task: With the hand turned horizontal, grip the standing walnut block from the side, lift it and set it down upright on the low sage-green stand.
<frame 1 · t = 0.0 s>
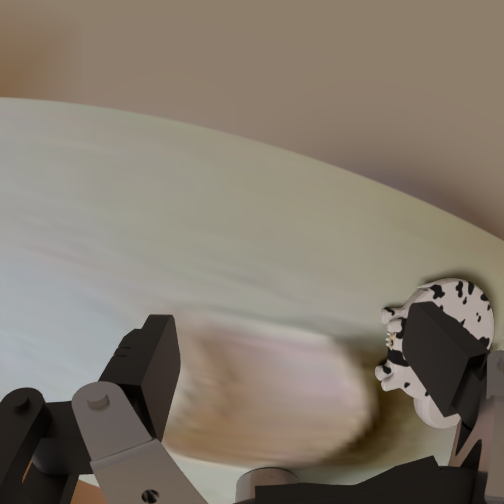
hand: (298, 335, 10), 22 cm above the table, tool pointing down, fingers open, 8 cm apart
toy: (437, 354, 35), on the table
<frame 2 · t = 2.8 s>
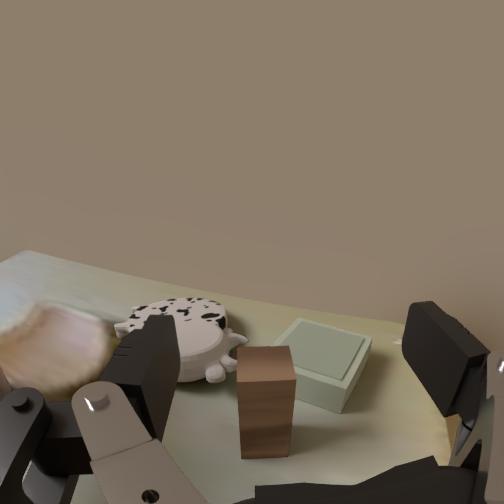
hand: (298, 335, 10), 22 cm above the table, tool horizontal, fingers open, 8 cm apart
block: (263, 441, 28), on the table
stand: (316, 372, 39), on the table
toy: (180, 347, 45), on the table
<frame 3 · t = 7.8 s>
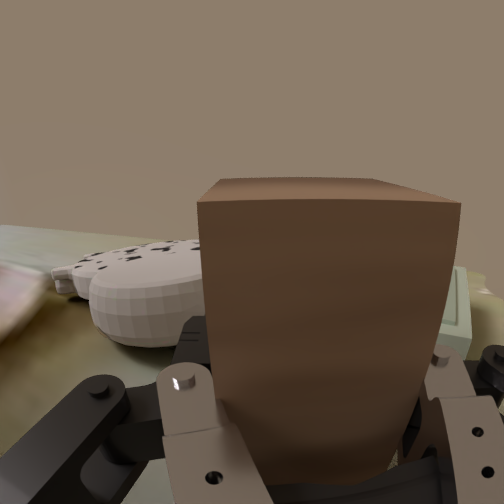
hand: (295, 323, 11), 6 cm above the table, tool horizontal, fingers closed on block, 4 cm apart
block: (294, 481, 10), on the table, touching gripper
stand: (381, 333, 20), on the table
toy: (158, 304, 27), on the table
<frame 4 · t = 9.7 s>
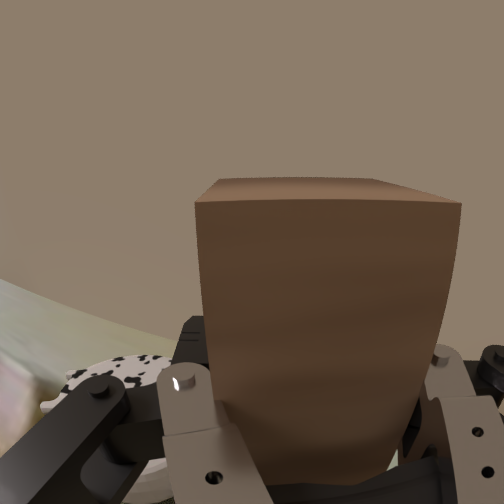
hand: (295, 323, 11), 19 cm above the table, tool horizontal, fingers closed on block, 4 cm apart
block: (293, 482, 10), point 13 cm above the table, touching gripper
toy: (135, 433, 27), on the table
when the fingers open (11 cm above the table, at t = 11.9 s): block drops 1 cm, resting on stand.
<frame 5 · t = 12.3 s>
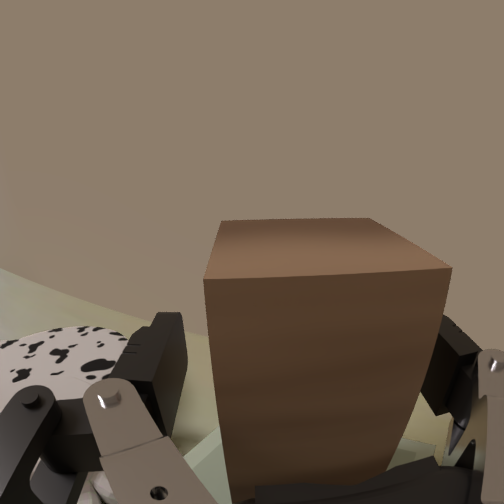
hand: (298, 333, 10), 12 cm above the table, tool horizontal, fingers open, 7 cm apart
block: (291, 493, 10), point 4 cm above the table, touching stand
toy: (56, 421, 19), on the table
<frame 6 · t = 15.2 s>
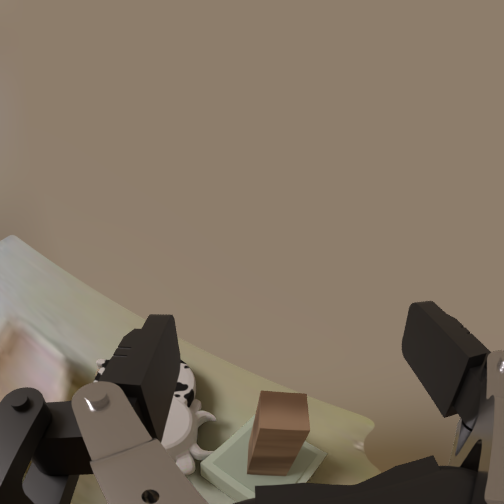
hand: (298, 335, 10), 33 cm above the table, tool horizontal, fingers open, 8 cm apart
block: (266, 459, 32), point 4 cm above the table, touching stand
stand: (261, 473, 34), on the table
toy: (148, 413, 40), on the table
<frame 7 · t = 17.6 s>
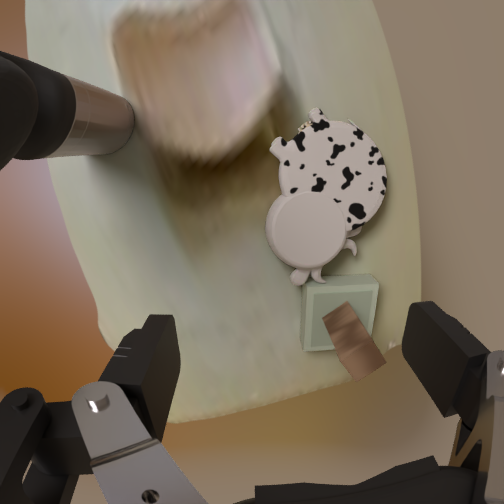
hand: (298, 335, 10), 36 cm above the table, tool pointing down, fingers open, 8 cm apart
block: (341, 319, 46), point 4 cm above the table, touching stand
stand: (334, 307, 50), on the table
toy: (317, 193, 45), on the table
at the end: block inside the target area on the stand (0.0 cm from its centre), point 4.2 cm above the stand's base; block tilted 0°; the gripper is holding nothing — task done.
